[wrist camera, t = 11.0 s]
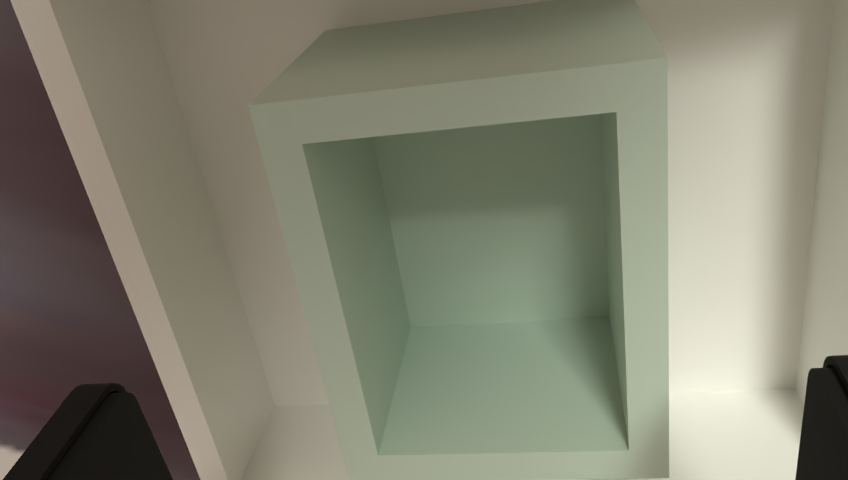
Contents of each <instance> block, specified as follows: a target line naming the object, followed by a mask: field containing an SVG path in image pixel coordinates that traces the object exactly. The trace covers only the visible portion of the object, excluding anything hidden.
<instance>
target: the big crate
mask: <svg viewBox="0 0 848 480" xmlns="http://www.w3.org/2000/svg"><path fill="white" fill-rule="evenodd" d="M10 1H11V3H12V6H13V8H14V11H15V13H16V16H17V18H18V21H19V23H20V26H21V28H22V31H23V33H24V36H25V38H26V41H27V43H28V46H29V48H30V51H31V53H32V56H33V59H34V61H35V64H36V66H37V69H38V71H39V74H40V76H41V79H42V81H43V84H44V86H45V89H46V91H47V94H48V96H49V99H50V101H51V104H52V106H53V109H54V111H55V114H56V117H57V119H58V122H59V124H60V127H61V129H62V132H63V134H64V137H65V139H66V142H67V144H68V147H69V149H70V152H71V154H72V157H73V159H74V162H75V164H76V167H77V169H78V172H79V175H80V177H81V180H82V182H83V185H84V187H85V190H86V192H87V195H88V197H89V200H90V202H91V205H92V207H93V210H94V212H95V215H96V217H97V220H98V222H99V225H100V227H101V230H102V232H103V235H104V238H105V240H106V243H107V245H108V248H109V250H110V253H111V255H112V258H113V260H114V263H115V265H116V268H117V270H118V273H119V275H120V278H121V280H122V283H123V285H124V288H125V290H126V293H127V296H128V298H129V301H130V303H131V306H132V308H133V311H134V313H135V316H136V318H137V321H138V323H139V326H140V328H141V331H142V333H143V336H144V338H145V341H146V343H147V346H148V348H149V351H150V354H151V356H152V359H153V361H154V364H155V366H156V369H157V371H158V374H159V376H160V379H161V381H162V384H163V386H164V389H165V391H166V394H167V396H168V399H169V401H170V404H171V406H172V409H173V412H174V414H175V417H176V419H177V422H178V424H179V427H180V429H181V432H182V434H183V437H184V439H185V442H186V444H187V447H188V449H189V452H190V454H191V457H192V459H193V462H194V464H195V467H196V469H197V472H198V475H199V477H200V480H350V478H349V474H348V471H347V467H346V463H345V460H344V456H343V452H342V449H341V445H340V441H339V438H338V434H337V430H336V427H335V423H334V419H333V416H332V412H331V408H330V405H329V401H328V397H327V394H326V390H325V386H324V383H323V379H322V375H321V372H320V368H319V365H318V361H317V357H316V354H315V350H314V346H313V343H312V339H311V335H310V332H309V328H308V324H307V321H306V317H305V313H304V310H303V306H302V302H301V299H300V295H299V291H298V288H297V284H296V280H295V277H294V273H293V269H292V266H291V262H290V258H289V255H288V251H287V247H286V244H285V240H284V236H283V233H282V229H281V225H280V222H279V218H278V214H277V211H276V207H275V203H274V200H273V196H272V192H271V189H270V185H269V181H268V178H267V174H266V170H265V167H264V163H263V159H262V156H261V152H260V148H259V145H258V141H257V137H256V134H255V130H254V126H253V123H252V119H251V115H250V112H249V108H248V105H249V104H250V103H251V102H252V101H253V100H254V99H255V98H256V97H257V96H258V95H259V94H260V93H261V92H262V91H263V90H264V89H265V88H266V87H267V86H269V85H270V84H271V83H272V82H273V81H274V80H275V79H276V78H277V77H278V76H279V75H280V74H281V73H282V72H283V71H284V70H285V69H286V68H287V67H288V66H289V65H290V64H291V63H292V62H293V61H294V60H295V59H296V58H297V57H298V56H299V55H300V54H302V53H303V52H304V51H305V50H306V49H307V48H308V47H309V46H310V45H311V44H312V43H313V42H314V41H315V40H316V39H317V38H318V37H319V36H320V35H321V34H322V33H323V32H324V31H325V30H332V29H339V28H347V27H355V26H362V25H370V24H377V23H385V22H393V21H400V20H408V19H416V18H423V17H431V16H438V15H446V14H454V13H461V12H469V11H476V10H484V9H492V8H499V7H507V6H515V5H522V4H530V3H537V2H545V1H553V0H10ZM636 2H637V4H638V6H639V8H640V9H641V11H642V13H643V15H644V17H645V18H646V20H647V22H648V24H649V26H650V27H651V29H652V31H653V33H654V35H655V36H656V38H657V40H658V42H659V44H660V45H661V47H662V49H663V51H664V53H665V54H666V56H667V84H668V304H669V478H644V479H565V480H795V478H796V470H797V461H798V453H799V445H800V436H801V428H802V420H803V411H804V403H805V395H806V386H807V378H808V373H809V371H810V369H812V368H823V363H824V360H825V359H826V357H828V356H837V355H848V0H636Z"/></svg>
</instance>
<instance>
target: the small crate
mask: <svg viewBox="0 0 848 480" xmlns="http://www.w3.org/2000/svg"><path fill="white" fill-rule="evenodd" d="M248 108H249V112H250V115H251V119H252V123H253V126H254V130H255V134H256V137H257V141H258V145H259V148H260V152H261V156H262V159H263V163H264V167H265V170H266V174H267V178H268V181H269V185H270V189H271V192H272V196H273V200H274V203H275V207H276V211H277V214H278V218H279V222H280V225H281V229H282V233H283V236H284V240H285V244H286V247H287V251H288V255H289V258H290V262H291V266H292V269H293V273H294V277H295V280H296V284H297V288H298V291H299V295H300V299H301V302H302V306H303V310H304V313H305V317H306V321H307V324H308V328H309V332H310V335H311V339H312V343H313V346H314V350H315V354H316V357H317V361H318V365H319V368H320V372H321V375H322V379H323V383H324V386H325V390H326V394H327V397H328V401H329V405H330V408H331V412H332V416H333V419H334V423H335V427H336V430H337V434H338V438H339V441H340V445H341V449H342V452H343V456H344V460H345V463H346V467H347V471H348V474H349V478H350V480H565V479H644V478H669V304H668V84H667V56H666V54H665V53H664V51H663V49H662V47H661V45H660V44H659V42H658V40H657V38H656V36H655V35H654V33H653V31H652V29H651V27H650V26H649V24H648V22H647V20H646V18H645V17H644V15H643V13H642V11H641V9H640V8H639V6H638V4H637V2H636V0H553V1H545V2H537V3H530V4H522V5H515V6H507V7H499V8H492V9H484V10H476V11H469V12H461V13H454V14H446V15H438V16H431V17H423V18H416V19H408V20H400V21H393V22H385V23H377V24H370V25H362V26H355V27H347V28H339V29H332V30H325V31H324V32H323V33H322V34H321V35H320V36H319V37H318V38H317V39H316V40H315V41H314V42H313V43H312V44H311V45H310V46H309V47H308V48H307V49H306V50H305V51H304V52H303V53H302V54H300V55H299V56H298V57H297V58H296V59H295V60H294V61H293V62H292V63H291V64H290V65H289V66H288V67H287V68H286V69H285V70H284V71H283V72H282V73H281V74H280V75H279V76H278V77H277V78H276V79H275V80H274V81H273V82H272V83H271V84H270V85H269V86H267V87H266V88H265V89H264V90H263V91H262V92H261V93H260V94H259V95H258V96H257V97H256V98H255V99H254V100H253V101H252V102H251V103H250V104H249V105H248Z"/></svg>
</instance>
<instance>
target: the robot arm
mask: <svg viewBox="0 0 848 480" xmlns="http://www.w3.org/2000/svg"><path fill="white" fill-rule="evenodd" d="M3 480H173V479H172V477H171V475H170V472H169V470H168V468H167V466H166V464H165V461H164V459H163V457H162V455H161V453H160V450H159V448H158V446H157V444H156V441H155V439H154V437H153V435H152V433H151V430H150V428H149V426H148V424H147V422H146V419H145V417H144V415H143V413H142V410H141V408H140V406H139V404H138V402H137V399H136V398H135V396H134V395H133V394H131V393H127V391H126V390H125V388H124V387H123V386H121V385H120V384H115V383H110V384H84V385H80V386H77V387H76V388H75V389H74V390H73V391H72V392H71V393H70V394H69V395H68V397H67V398H66V399H65V400H64V402H63V403H62V404H61V406H60V407H59V408H58V409H57V411H56V412H55V413H54V415H53V416H52V417H51V418H50V420H49V421H48V422H47V424H46V425H45V426H44V427H43V429H42V430H41V431H40V433H39V434H38V435H37V436H36V438H35V439H34V440H33V442H32V443H31V444H30V445H29V447H28V448H27V449H26V451H25V452H24V453H23V454H22V456H21V457H20V458H19V460H18V461H17V462H16V464H15V465H14V466H13V467H12V469H11V470H10V471H9V472H8V474H7V475H6V476H5V478H4V479H3ZM795 480H848V355H837V356H828V357H826V359H825V360H824V363H823V368H812V369H810V371H809V373H808V378H807V386H806V395H805V403H804V411H803V420H802V428H801V436H800V445H799V453H798V461H797V470H796V478H795Z"/></svg>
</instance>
